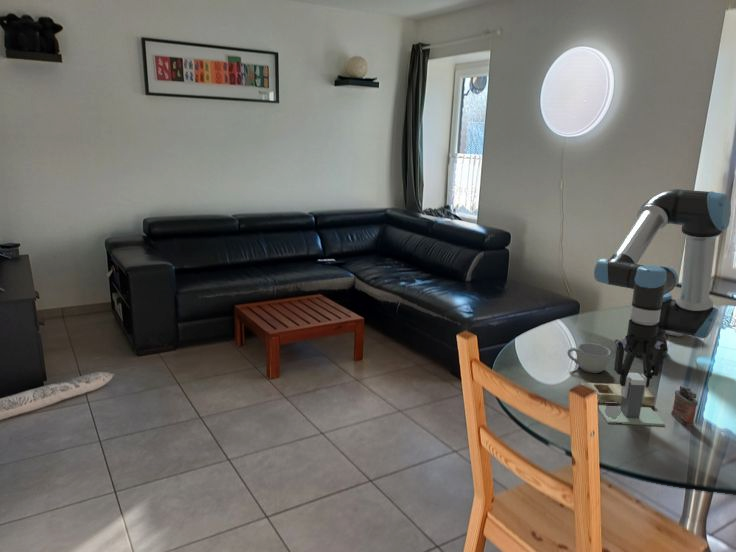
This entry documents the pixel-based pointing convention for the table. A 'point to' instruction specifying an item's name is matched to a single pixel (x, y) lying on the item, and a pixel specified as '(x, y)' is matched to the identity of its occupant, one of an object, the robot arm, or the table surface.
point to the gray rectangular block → (633, 396)
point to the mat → (645, 418)
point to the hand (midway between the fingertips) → (632, 395)
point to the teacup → (591, 357)
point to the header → (616, 393)
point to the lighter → (684, 406)
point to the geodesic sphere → (674, 333)
